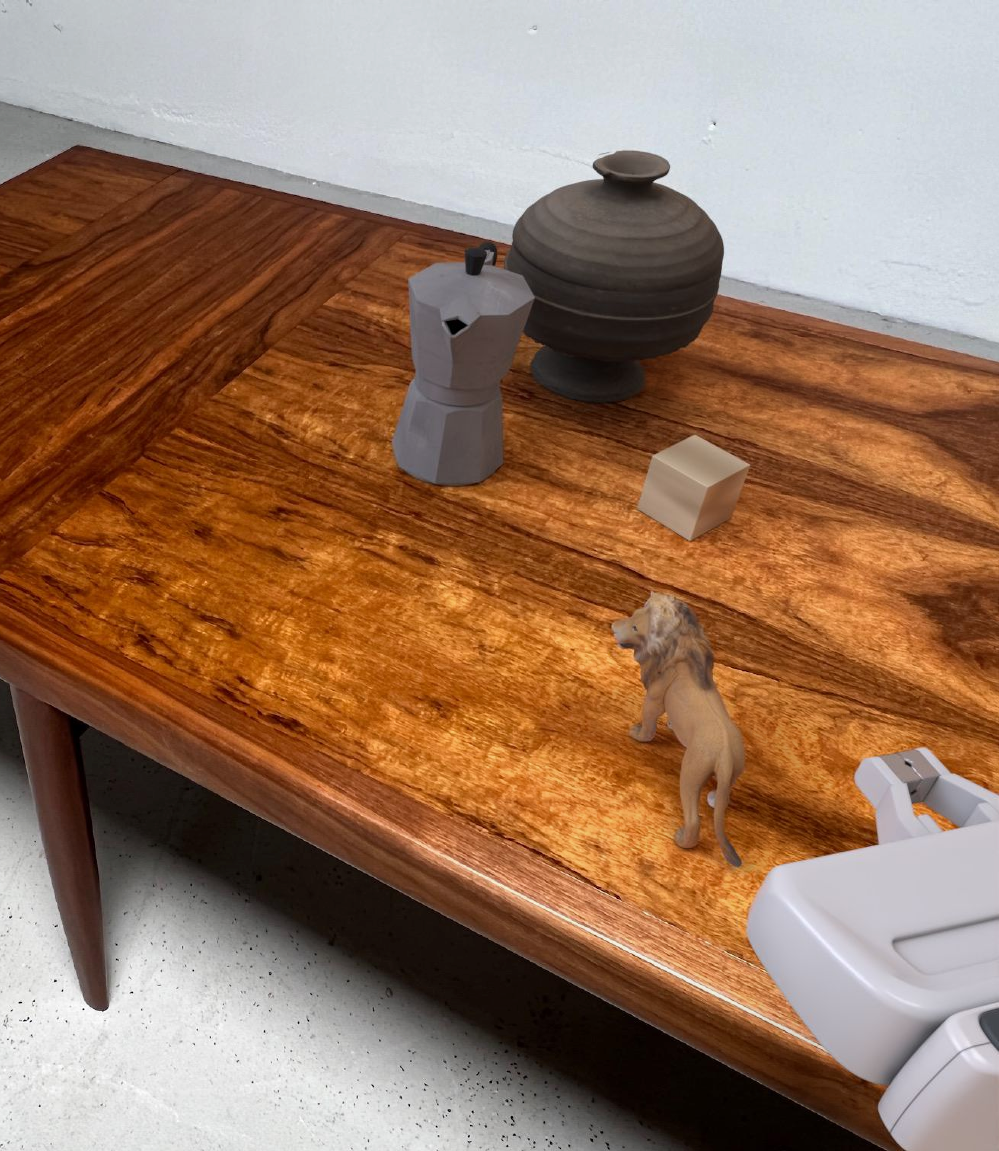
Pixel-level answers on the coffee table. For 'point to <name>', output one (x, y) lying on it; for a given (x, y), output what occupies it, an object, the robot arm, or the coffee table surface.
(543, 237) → the pot
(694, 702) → the lion figurine
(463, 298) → the coffeepot
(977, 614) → the coffee table surface
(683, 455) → the beige block
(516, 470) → the coffee table surface
